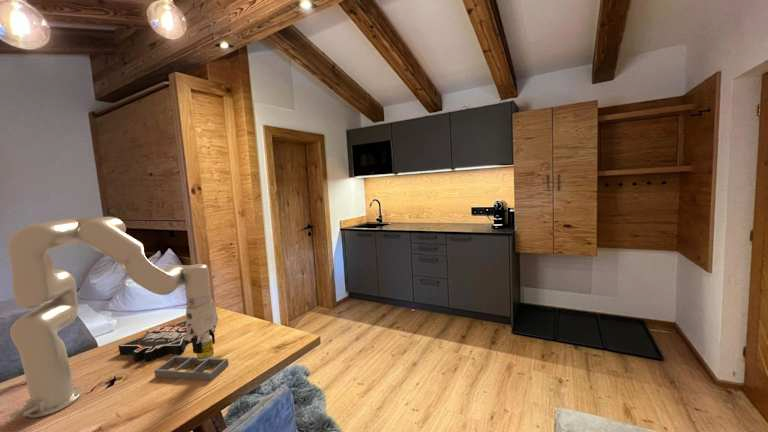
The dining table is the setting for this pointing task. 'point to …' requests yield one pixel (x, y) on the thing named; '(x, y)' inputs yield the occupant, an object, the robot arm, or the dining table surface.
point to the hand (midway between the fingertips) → (204, 347)
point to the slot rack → (196, 373)
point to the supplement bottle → (206, 347)
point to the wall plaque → (157, 343)
